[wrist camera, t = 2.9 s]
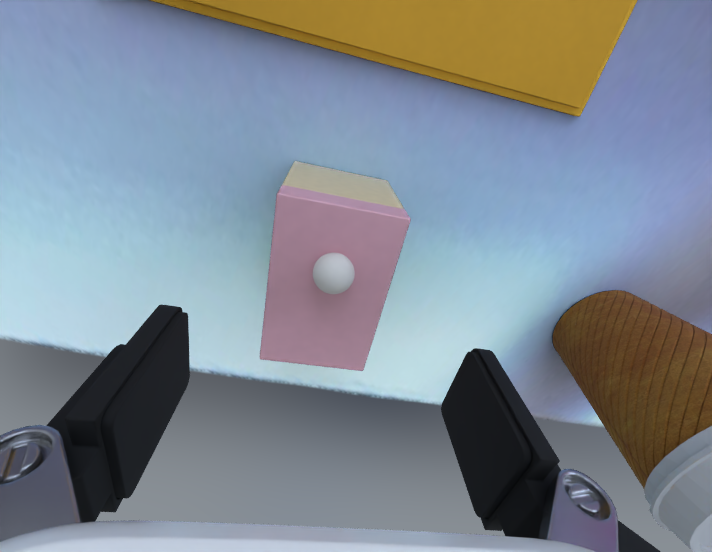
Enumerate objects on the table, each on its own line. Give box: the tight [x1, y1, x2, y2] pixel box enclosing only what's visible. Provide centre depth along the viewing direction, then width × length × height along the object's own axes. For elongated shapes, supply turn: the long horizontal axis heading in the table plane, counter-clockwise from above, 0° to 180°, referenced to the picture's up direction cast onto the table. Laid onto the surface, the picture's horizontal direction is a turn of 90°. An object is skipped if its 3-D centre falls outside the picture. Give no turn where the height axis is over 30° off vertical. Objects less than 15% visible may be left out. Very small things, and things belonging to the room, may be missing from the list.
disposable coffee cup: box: [553, 290, 712, 552], centre depth 18 cm, size 10×10×12 cm
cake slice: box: [260, 161, 410, 371], centre depth 16 cm, size 5×8×7 cm, turn 167°
